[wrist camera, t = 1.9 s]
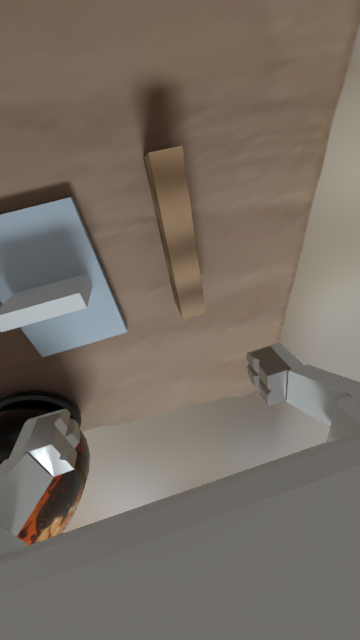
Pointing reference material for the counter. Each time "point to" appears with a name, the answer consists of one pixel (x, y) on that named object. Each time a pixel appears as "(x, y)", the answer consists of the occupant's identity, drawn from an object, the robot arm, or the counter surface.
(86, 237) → the balance stand
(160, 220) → the wooden block
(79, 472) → the amphora vase
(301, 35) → the counter surface
